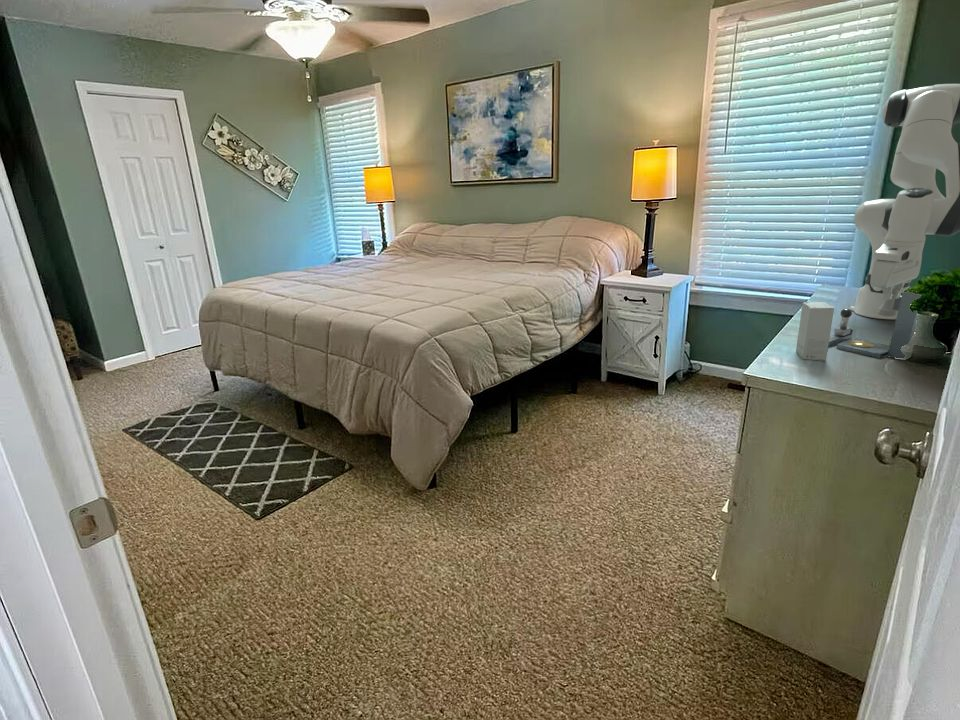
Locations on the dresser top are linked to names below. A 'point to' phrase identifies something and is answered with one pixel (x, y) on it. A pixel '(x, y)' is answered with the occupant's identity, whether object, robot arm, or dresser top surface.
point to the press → (900, 335)
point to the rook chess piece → (889, 305)
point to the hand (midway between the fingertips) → (890, 298)
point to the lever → (844, 323)
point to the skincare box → (814, 330)
